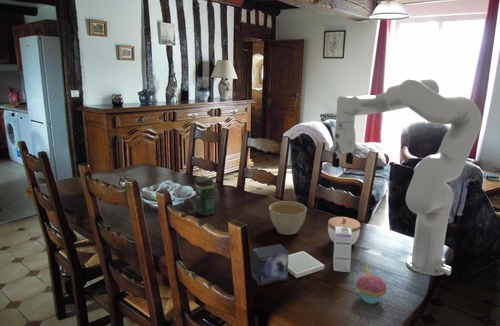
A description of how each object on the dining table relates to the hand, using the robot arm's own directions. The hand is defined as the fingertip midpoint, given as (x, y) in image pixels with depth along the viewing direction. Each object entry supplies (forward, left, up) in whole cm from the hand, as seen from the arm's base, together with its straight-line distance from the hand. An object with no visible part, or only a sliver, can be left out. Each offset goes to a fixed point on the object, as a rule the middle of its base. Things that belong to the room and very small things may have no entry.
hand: (342, 165), depth 151 cm
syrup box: (-26, +23, -29) cm, 46 cm away
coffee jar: (+46, +46, -29) cm, 71 cm away
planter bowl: (+9, +22, -29) cm, 38 cm away
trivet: (-18, +35, -29) cm, 49 cm away
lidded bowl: (-12, +9, -29) cm, 33 cm away
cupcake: (-44, +28, -29) cm, 60 cm away
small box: (-20, +49, -29) cm, 61 cm away
